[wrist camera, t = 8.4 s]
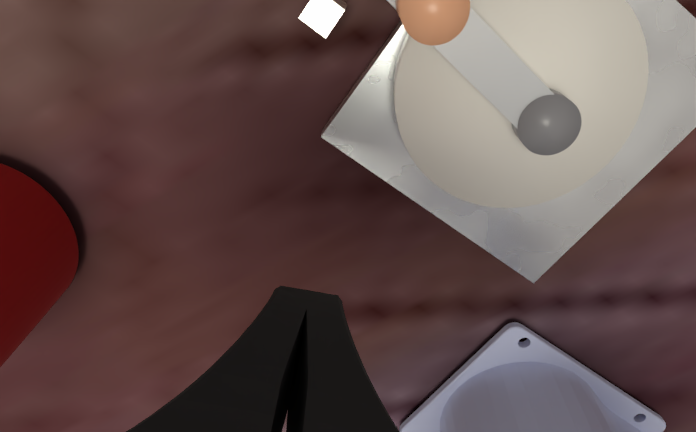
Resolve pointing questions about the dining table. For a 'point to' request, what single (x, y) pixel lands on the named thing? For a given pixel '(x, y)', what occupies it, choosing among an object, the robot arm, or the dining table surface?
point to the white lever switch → (517, 93)
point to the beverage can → (30, 256)
